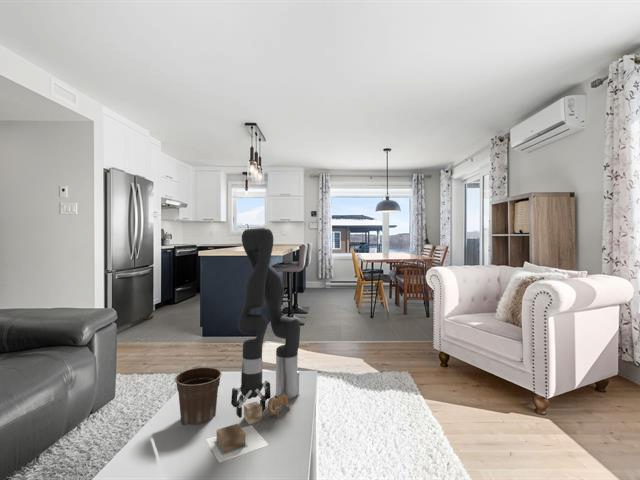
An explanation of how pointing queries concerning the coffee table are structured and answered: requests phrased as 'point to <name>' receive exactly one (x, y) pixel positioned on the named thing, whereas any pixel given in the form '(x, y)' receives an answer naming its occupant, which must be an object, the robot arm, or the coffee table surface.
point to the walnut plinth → (230, 438)
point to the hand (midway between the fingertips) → (250, 413)
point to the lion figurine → (277, 405)
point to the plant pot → (198, 394)
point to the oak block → (252, 412)
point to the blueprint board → (251, 443)
